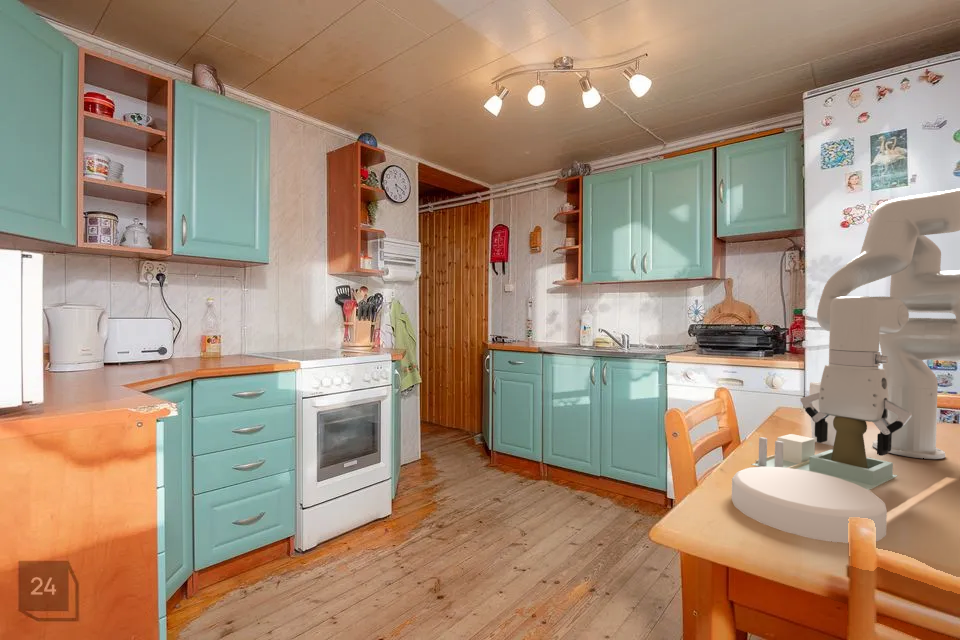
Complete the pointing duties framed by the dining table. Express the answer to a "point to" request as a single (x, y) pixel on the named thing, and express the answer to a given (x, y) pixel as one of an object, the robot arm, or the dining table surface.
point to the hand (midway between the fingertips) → (850, 447)
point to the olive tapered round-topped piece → (849, 442)
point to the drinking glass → (831, 430)
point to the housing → (797, 448)
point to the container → (805, 502)
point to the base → (830, 466)
